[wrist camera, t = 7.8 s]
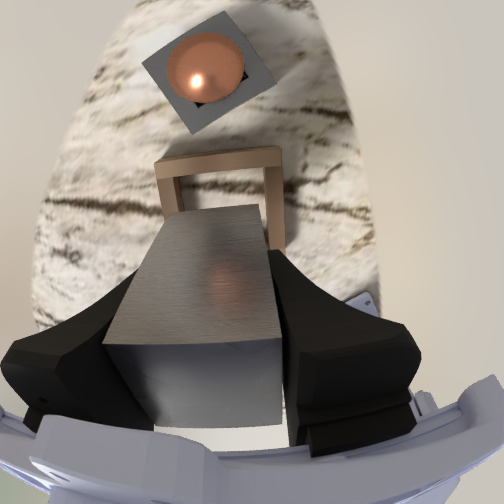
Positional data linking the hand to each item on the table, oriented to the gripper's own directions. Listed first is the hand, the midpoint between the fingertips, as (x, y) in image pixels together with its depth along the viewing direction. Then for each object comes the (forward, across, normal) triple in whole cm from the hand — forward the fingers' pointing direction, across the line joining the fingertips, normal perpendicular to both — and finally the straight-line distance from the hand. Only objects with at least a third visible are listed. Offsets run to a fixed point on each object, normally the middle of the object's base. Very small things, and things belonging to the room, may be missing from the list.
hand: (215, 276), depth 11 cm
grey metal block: (+2, 0, 0) cm, 2 cm away
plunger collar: (+8, 0, -8) cm, 12 cm away
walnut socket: (+8, 0, 0) cm, 8 cm away
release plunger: (+8, 0, -8) cm, 11 cm away
